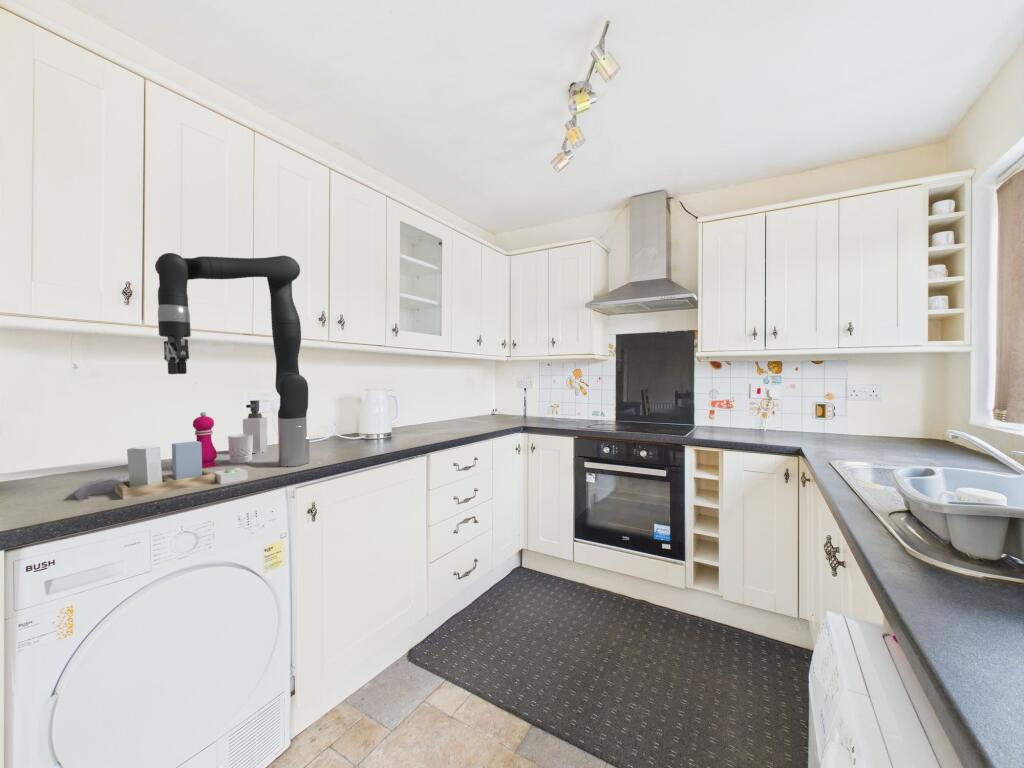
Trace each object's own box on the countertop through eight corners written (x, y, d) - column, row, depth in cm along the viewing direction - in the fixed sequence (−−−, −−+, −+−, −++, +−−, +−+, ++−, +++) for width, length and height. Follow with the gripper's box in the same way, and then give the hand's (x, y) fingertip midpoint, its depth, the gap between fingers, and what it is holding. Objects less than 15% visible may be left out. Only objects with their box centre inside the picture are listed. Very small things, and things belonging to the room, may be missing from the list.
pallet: (203, 480, 127) (202, 469, 127) (215, 486, 120) (214, 474, 120) (115, 495, 111) (114, 482, 111) (123, 503, 105) (123, 489, 105)
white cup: (223, 463, 151) (222, 436, 151) (242, 459, 158) (242, 433, 158) (239, 464, 149) (238, 437, 148) (258, 460, 156) (258, 434, 156)
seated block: (197, 480, 123) (197, 440, 123) (202, 482, 121) (201, 442, 120) (172, 484, 118) (171, 443, 118) (176, 486, 116) (175, 445, 116)
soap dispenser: (240, 455, 166) (239, 401, 165) (251, 451, 174) (250, 400, 174) (257, 454, 167) (256, 401, 166) (267, 450, 175) (266, 400, 175)
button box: (239, 478, 129) (238, 467, 129) (247, 482, 125) (247, 470, 125) (212, 483, 123) (212, 471, 123) (221, 487, 119) (220, 475, 119)
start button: (233, 476, 126) (233, 468, 126) (236, 477, 124) (236, 469, 124) (223, 478, 124) (223, 470, 124) (226, 479, 122) (226, 471, 122)
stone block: (73, 508, 107) (124, 494, 112) (67, 491, 106) (118, 477, 112) (86, 498, 116) (132, 486, 122) (81, 482, 116) (127, 471, 121)
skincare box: (163, 488, 114) (162, 445, 114) (147, 493, 110) (146, 448, 109) (144, 488, 115) (143, 445, 115) (127, 492, 110) (126, 448, 110)
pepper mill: (203, 471, 138) (202, 413, 138) (186, 470, 140) (184, 412, 139) (222, 466, 146) (221, 411, 145) (205, 465, 147) (204, 410, 146)
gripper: (197, 320, 123) (200, 373, 124) (182, 323, 131) (184, 373, 132) (165, 318, 117) (168, 374, 118) (151, 322, 125) (154, 374, 126)
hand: (177, 374), depth 125 cm, fingers open, 8 cm apart
